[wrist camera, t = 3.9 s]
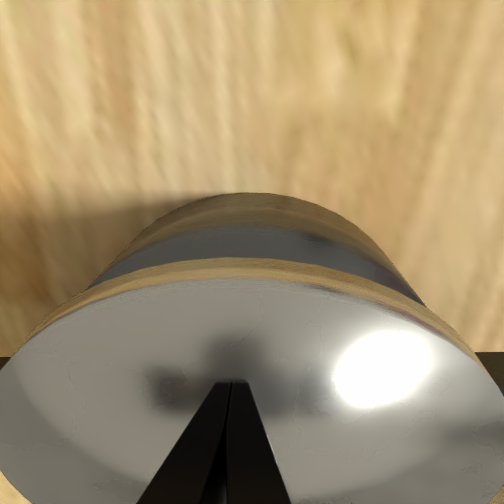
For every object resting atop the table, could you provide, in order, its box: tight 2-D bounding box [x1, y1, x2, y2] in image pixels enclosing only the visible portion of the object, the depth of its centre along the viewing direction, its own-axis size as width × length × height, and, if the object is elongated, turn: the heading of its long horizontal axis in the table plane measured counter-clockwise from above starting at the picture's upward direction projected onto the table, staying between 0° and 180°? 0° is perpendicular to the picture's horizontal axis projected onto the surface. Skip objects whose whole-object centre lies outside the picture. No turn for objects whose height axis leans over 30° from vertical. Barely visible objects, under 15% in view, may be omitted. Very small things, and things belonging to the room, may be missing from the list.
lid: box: [0, 257, 504, 504], centre depth 11 cm, size 16×16×3 cm
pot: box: [0, 193, 504, 396], centre depth 16 cm, size 18×23×5 cm
